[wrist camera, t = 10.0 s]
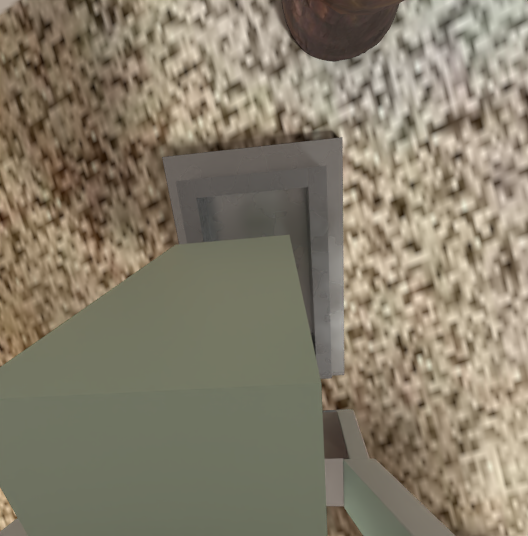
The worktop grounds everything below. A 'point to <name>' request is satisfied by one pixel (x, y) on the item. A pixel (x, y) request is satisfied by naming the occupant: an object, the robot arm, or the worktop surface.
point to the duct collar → (274, 219)
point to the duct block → (173, 405)
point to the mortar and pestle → (339, 25)
